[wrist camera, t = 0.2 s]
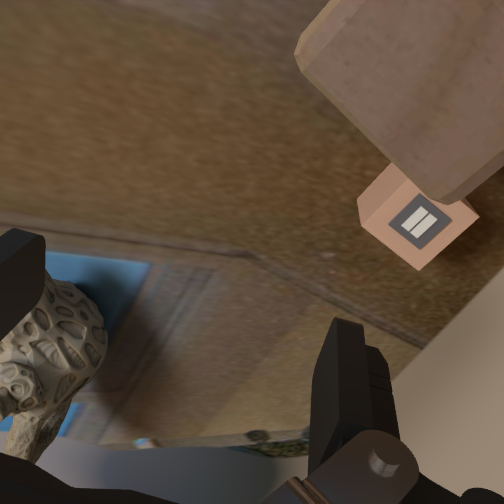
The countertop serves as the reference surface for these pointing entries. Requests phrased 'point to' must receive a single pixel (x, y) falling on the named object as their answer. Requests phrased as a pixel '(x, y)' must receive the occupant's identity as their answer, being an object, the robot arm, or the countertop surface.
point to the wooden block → (417, 84)
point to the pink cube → (411, 217)
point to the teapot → (48, 365)
